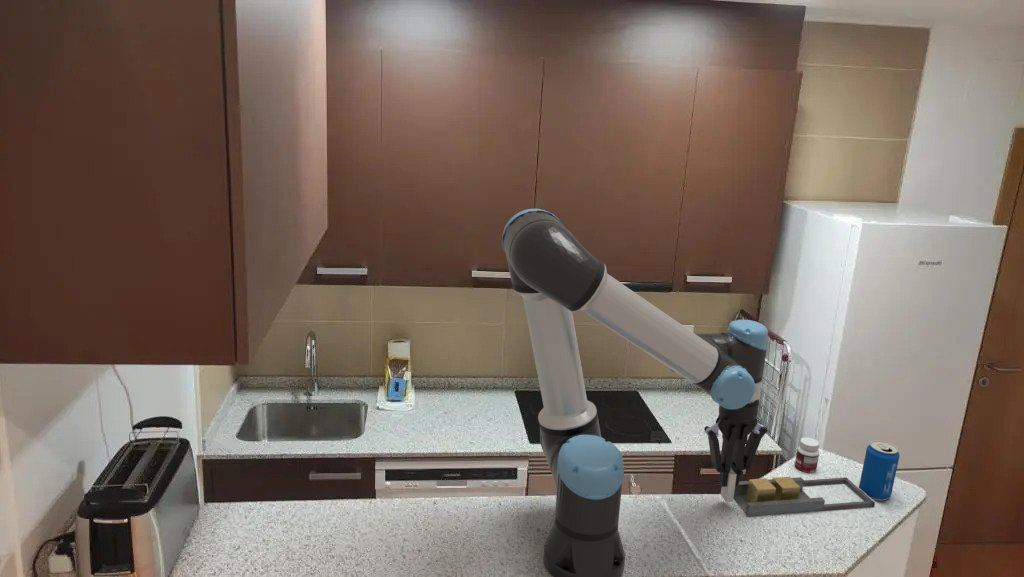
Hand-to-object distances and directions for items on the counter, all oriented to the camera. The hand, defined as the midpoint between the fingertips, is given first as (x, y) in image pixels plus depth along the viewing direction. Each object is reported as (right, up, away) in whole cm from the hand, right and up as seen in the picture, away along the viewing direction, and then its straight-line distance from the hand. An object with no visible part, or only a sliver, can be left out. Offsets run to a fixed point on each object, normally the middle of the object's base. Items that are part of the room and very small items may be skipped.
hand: (726, 498), depth 149 cm
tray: (+25, -2, +6) cm, 26 cm away
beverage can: (+36, -2, +9) cm, 37 cm away
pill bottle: (+23, +1, +17) cm, 29 cm away
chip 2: (+13, -1, +3) cm, 13 cm away
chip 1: (+8, -1, +2) cm, 8 cm away
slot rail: (+11, -3, +3) cm, 12 cm away
